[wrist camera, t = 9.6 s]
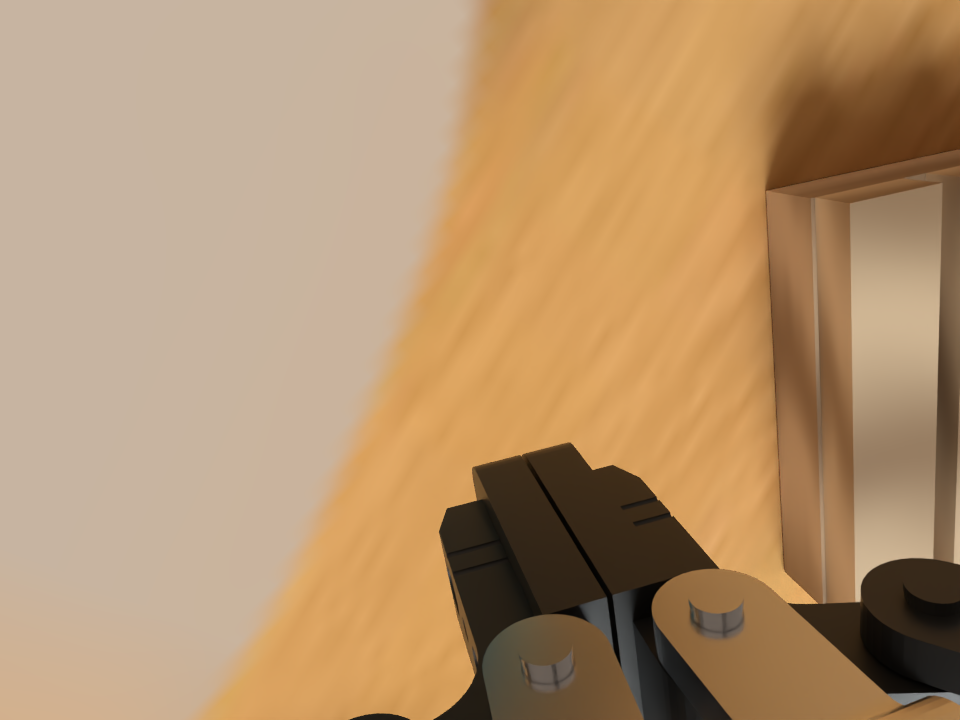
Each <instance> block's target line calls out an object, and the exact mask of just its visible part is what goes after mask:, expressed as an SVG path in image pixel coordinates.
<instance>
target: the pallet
mask: <svg viewBox="0 0 960 720" xmlns="http://www.w3.org/2000/svg"><path fill="white" fill-rule="evenodd" d="M766 202H767V223H768V243H769V263H770V284H771V304H772V325H773V345H774V366H775V386H776V406H777V427H778V447H779V468H780V488H781V509H782V529H783V549H784V570H785V572H786V573H787V574H788V575H789V576H790V577H791V578H792V579H793V580H794V581H795V582H796V583H797V584H798V585H799V586H801V587H802V588H803V589H804V590H805V591H806V592H807V593H808V594H809V595H810V596H811V597H812V598H813V599H814V600H815V601H816V602H817V603H818V604H824V603H847V602H860V600H861V584H862V581H863V579H864V577H865V576H866V574H867V573H868V572H869V571H871V570H872V569H873V568H875V567H877V566H879V565H880V564H883V563H886V562H889V561H893V560H898V559H906V558H927V559H936V560H941V561H946V562H951V563H955V564H959V565H960V149H958V150H953V151H948V152H944V153H939V154H934V155H930V156H925V157H920V158H916V159H911V160H907V161H902V162H897V163H893V164H888V165H883V166H879V167H874V168H869V169H865V170H860V171H856V172H851V173H846V174H842V175H837V176H832V177H828V178H823V179H818V180H814V181H809V182H805V183H800V184H795V185H791V186H786V187H781V188H777V189H772V190H767V191H766Z"/></svg>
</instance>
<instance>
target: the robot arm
mask: <svg viewBox="0 0 960 720" xmlns="http://www.w3.org/2000/svg"><path fill="white" fill-rule="evenodd" d="M472 474H473V481H474V487H475V492H476V497H477V501H474V502H470V503H466V504H463V505H459V506H455V507H451V508H447V510H446V513H445V516H444V519H443V522H442V524H441V527H440V530H439V534H440V538H441V543H442V548H443V552H444V557H445V562H446V566H447V571H448V576H449V580H450V585H451V590H452V594H453V599H454V604H455V608H456V613H457V617H458V621H459V624H460V627H461V631H462V634H463V637H464V641H465V643H466V647H467V650H468V654H469V657H470V660H471V663H472V666H473V670H474V673H475V677H474V679H473V682H472V684H471V685H470V687H469V689H468V690H467V692H466V693H465V694H464V695H463V696H462V698H461V699H460V700H459V701H458V702H457V703H456V704H455V705H453V706H452V707H451V708H450V709H449V710H447V711H446V712H444V713H443V714H442V715H440V716H439V717H437V718H435V719H434V720H960V565H959V564H955V563H951V562H946V561H941V560H936V559H927V558H906V559H898V560H893V561H889V562H886V563H883V564H880V565H879V566H877V567H875V568H873V569H872V570H871V571H869V572H868V573H867V574H866V576H865V577H864V579H863V581H862V584H861V600H860V602H847V603H824V604H791V603H786V602H785V601H784V600H783V599H782V598H781V597H780V596H779V595H778V594H777V593H775V592H774V591H773V590H772V589H771V588H770V587H768V586H767V585H766V584H765V583H763V582H761V581H760V580H758V579H756V578H754V577H752V576H749V575H747V574H744V573H740V572H736V571H731V570H725V569H719V568H718V567H717V565H716V564H715V563H714V562H713V561H712V560H711V559H710V557H709V556H708V555H707V554H706V553H705V552H704V551H703V549H702V548H701V547H700V546H699V545H698V544H697V543H696V541H695V540H694V539H693V538H692V537H691V536H690V535H689V533H688V532H687V531H686V530H685V529H684V528H683V527H682V525H681V524H680V523H679V522H678V521H677V520H676V519H675V517H674V516H673V517H671V514H670V512H669V510H668V509H667V508H666V507H665V506H664V505H663V504H662V502H661V501H660V500H659V501H658V500H657V497H656V496H655V494H654V493H653V492H652V491H651V490H650V489H649V488H648V486H647V485H646V484H645V483H644V482H643V481H642V480H641V478H639V477H637V476H635V475H633V474H631V473H629V472H626V471H624V470H622V469H620V468H618V467H616V466H614V465H611V466H607V467H603V468H599V469H596V470H592V469H591V468H590V466H589V465H588V464H587V463H586V461H585V460H584V459H583V457H582V456H581V455H580V453H579V452H578V451H577V450H576V448H575V447H574V446H573V445H572V444H571V443H565V444H561V445H557V446H553V447H549V448H545V449H541V450H537V451H533V452H529V453H526V454H523V455H522V457H521V456H520V455H518V456H514V457H511V458H507V459H503V460H499V461H495V462H491V463H487V464H483V465H479V466H475V467H473V468H472ZM350 720H410V719H407V718H405V717H402V716H399V715H393V714H379V713H377V714H369V715H363V716H360V717H356V718H353V719H350Z"/></svg>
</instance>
